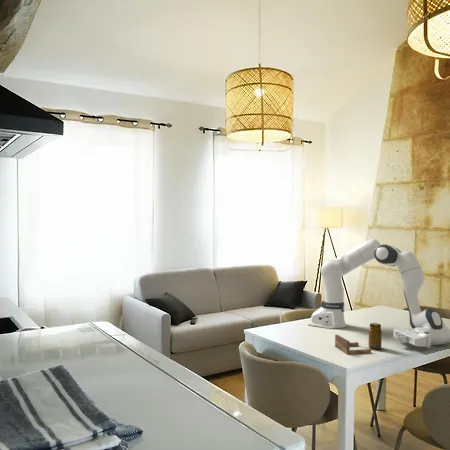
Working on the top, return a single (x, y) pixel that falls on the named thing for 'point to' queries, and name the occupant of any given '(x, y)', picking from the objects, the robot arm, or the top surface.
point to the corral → (348, 346)
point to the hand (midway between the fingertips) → (395, 337)
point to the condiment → (375, 337)
